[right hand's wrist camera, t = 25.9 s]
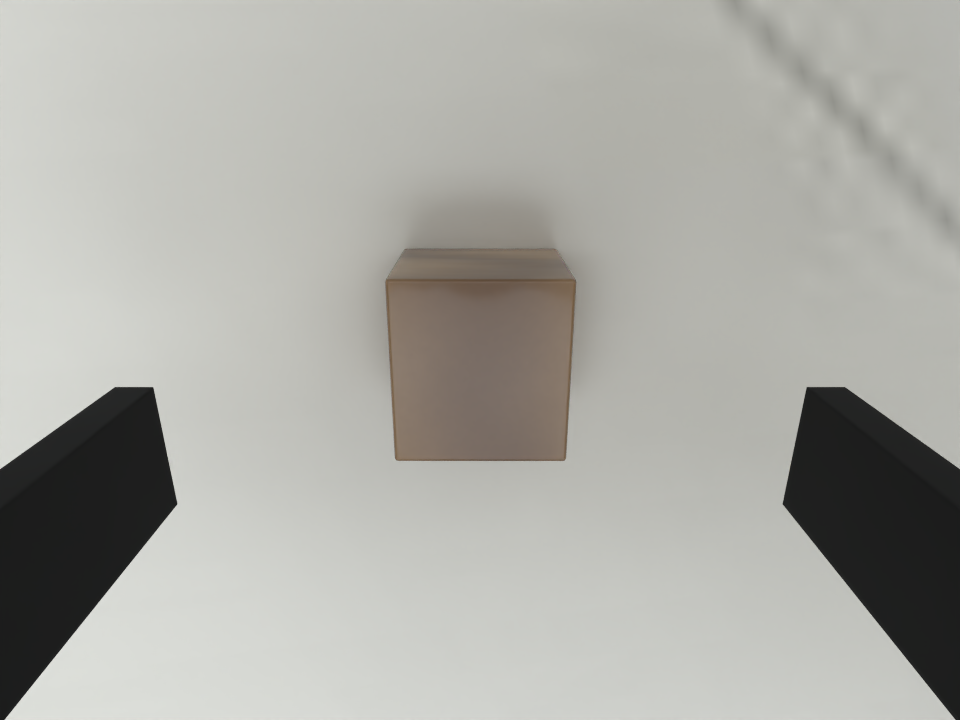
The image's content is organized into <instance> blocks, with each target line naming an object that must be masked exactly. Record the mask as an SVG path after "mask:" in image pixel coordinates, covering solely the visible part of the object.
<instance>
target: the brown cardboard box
mask: <svg viewBox="0 0 960 720" xmlns="http://www.w3.org/2000/svg"><path fill="white" fill-rule="evenodd" d="M385 286H386V304H387V322H388V340H389V358H390V376H391V394H392V412H393V430H394V448H395V459H396V460H398V461H564V460H565V459H566V450H567V433H568V415H569V398H570V380H571V363H572V346H573V328H574V311H575V293H576V280H575V278H574V277H573V275H572V274H571V272H570V270H569V269H568V267H567V266H566V264H565V262H564V261H563V259H562V258H561V256H560V254H559V253H558V251H557V250H556V249H405V250H404V251H403V253H402V255H401V256H400V258H399V260H398V261H397V263H396V264H395V266H394V268H393V269H392V271H391V273H390V274H389V276H388V277H387V279H386V281H385Z"/></svg>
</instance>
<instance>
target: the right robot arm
mask: <svg viewBox="0 0 960 720" xmlns="http://www.w3.org/2000/svg"><path fill="white" fill-rule="evenodd" d="M176 505H177V500H176V495H175V490H174V486H173V481H172V476H171V471H170V466H169V461H168V457H167V452H166V447H165V442H164V437H163V432H162V428H161V423H160V418H159V413H158V408H157V403H156V398H155V394H154V389H153V387H115V388H113V389H112V390H111V391H109V392H108V393H106V394H105V395H104V396H102V397H101V398H99V399H98V400H97V401H95V402H94V403H92V404H91V405H90V406H88V407H87V408H85V409H84V410H83V411H81V412H80V413H78V414H77V415H76V416H74V417H73V418H71V419H70V420H69V421H67V422H66V423H64V424H63V425H62V426H60V427H59V428H57V429H56V430H55V431H53V432H52V433H50V434H49V435H48V436H46V437H45V438H43V439H42V440H41V441H39V442H38V443H36V444H35V445H34V446H32V447H31V448H29V449H28V450H27V451H25V452H24V453H22V454H21V455H20V456H18V457H17V458H15V459H14V460H13V461H11V462H10V463H8V464H7V465H6V466H4V467H3V468H1V469H0V720H5V718H6V717H7V716H8V715H9V713H10V712H11V711H12V710H13V708H14V707H15V706H16V705H17V703H18V702H19V701H20V700H21V698H22V697H23V696H24V695H25V693H26V692H27V691H28V690H29V688H30V687H31V686H32V685H33V683H34V682H35V681H36V680H37V678H38V677H39V676H40V675H41V673H42V672H43V671H44V670H45V668H46V667H47V666H48V665H49V663H50V662H51V661H52V660H53V658H54V657H55V656H56V655H57V654H58V652H59V651H60V650H61V649H62V647H63V646H64V645H65V644H66V642H67V641H68V640H69V639H70V637H71V636H72V635H73V634H74V632H75V631H76V630H77V629H78V627H79V626H80V625H81V624H82V622H83V621H84V620H85V619H86V617H87V616H88V615H89V614H90V612H91V611H92V610H93V609H94V607H95V606H96V605H97V604H98V602H99V601H100V600H101V599H102V597H103V596H104V595H105V594H106V592H107V591H108V590H109V589H110V587H111V586H112V585H113V584H114V582H115V581H116V580H117V579H118V577H119V576H120V575H121V574H122V572H123V571H124V570H125V569H126V567H127V566H128V565H129V564H130V562H131V561H132V560H133V559H134V557H135V556H136V555H137V554H138V552H139V551H140V550H141V549H142V548H143V546H144V545H145V544H146V543H147V541H148V540H149V539H150V538H151V536H152V535H153V534H154V533H155V531H156V530H157V529H158V528H159V526H160V525H161V524H162V523H163V521H164V520H165V519H166V518H167V516H168V515H169V514H170V513H171V511H172V510H173V509H174V508H175V506H176ZM783 505H784V506H785V508H786V509H787V510H788V511H789V513H790V514H791V515H792V516H793V518H794V519H795V520H796V521H797V523H798V524H799V525H800V526H801V528H802V529H803V530H804V531H805V533H806V534H807V535H808V536H809V538H810V539H811V540H812V541H813V543H814V544H815V545H816V546H817V548H818V549H819V550H820V551H821V552H822V554H823V555H824V556H825V557H826V559H827V560H828V561H829V562H830V564H831V565H832V566H833V567H834V569H835V570H836V571H837V572H838V574H839V575H840V576H841V577H842V579H843V580H844V581H845V582H846V584H847V585H848V586H849V587H850V589H851V590H852V591H853V592H854V594H855V595H856V596H857V597H858V599H859V600H860V601H861V602H862V604H863V605H864V606H865V607H866V609H867V610H868V611H869V612H870V614H871V615H872V616H873V617H874V619H875V620H876V621H877V622H878V624H879V625H880V626H881V627H882V629H883V630H884V631H885V632H886V634H887V635H888V636H889V637H890V639H891V640H892V641H893V642H894V644H895V645H896V646H897V647H898V649H899V650H900V651H901V652H902V654H903V655H904V656H905V657H906V658H907V660H908V661H909V662H910V663H911V665H912V666H913V667H914V668H915V670H916V671H917V672H918V673H919V675H920V676H921V677H922V678H923V680H924V681H925V682H926V683H927V685H928V686H929V687H930V688H931V690H932V691H933V692H934V693H935V695H936V696H937V697H938V698H939V700H940V701H941V702H942V703H943V705H944V706H945V707H946V708H947V710H948V711H949V712H950V713H951V715H952V716H953V717H954V718H955V720H960V469H959V468H957V467H956V466H954V465H953V464H952V463H950V462H949V461H947V460H946V459H945V458H943V457H942V456H940V455H939V454H938V453H936V452H935V451H933V450H932V449H931V448H929V447H928V446H926V445H925V444H924V443H922V442H921V441H919V440H918V439H917V438H915V437H914V436H912V435H911V434H910V433H908V432H907V431H905V430H904V429H903V428H901V427H900V426H898V425H897V424H896V423H894V422H893V421H891V420H890V419H889V418H887V417H886V416H884V415H883V414H882V413H880V412H879V411H877V410H876V409H875V408H873V407H872V406H870V405H869V404H868V403H866V402H865V401H863V400H862V399H861V398H859V397H858V396H856V395H855V394H854V393H852V392H851V391H849V390H848V389H847V388H845V387H807V389H806V394H805V398H804V403H803V408H802V413H801V418H800V423H799V428H798V432H797V437H796V442H795V447H794V452H793V457H792V461H791V466H790V471H789V476H788V481H787V486H786V490H785V495H784V500H783Z"/></svg>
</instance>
